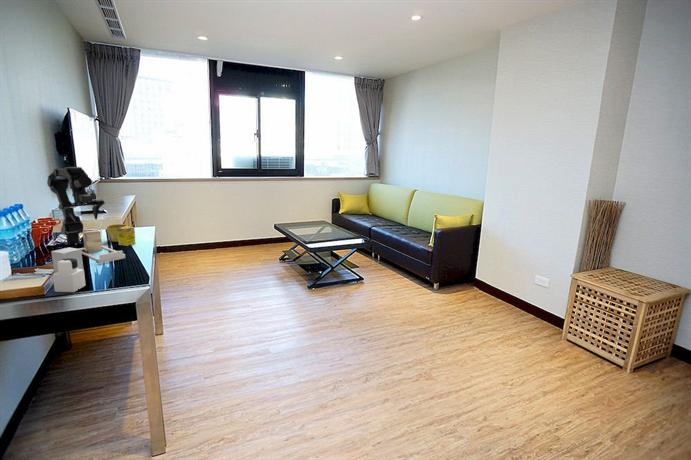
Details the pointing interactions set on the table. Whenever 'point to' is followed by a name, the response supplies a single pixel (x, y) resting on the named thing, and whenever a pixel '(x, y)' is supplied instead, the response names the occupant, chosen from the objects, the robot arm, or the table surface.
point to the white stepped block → (68, 276)
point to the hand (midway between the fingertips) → (86, 220)
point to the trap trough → (106, 255)
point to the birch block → (92, 241)
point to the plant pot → (114, 231)
